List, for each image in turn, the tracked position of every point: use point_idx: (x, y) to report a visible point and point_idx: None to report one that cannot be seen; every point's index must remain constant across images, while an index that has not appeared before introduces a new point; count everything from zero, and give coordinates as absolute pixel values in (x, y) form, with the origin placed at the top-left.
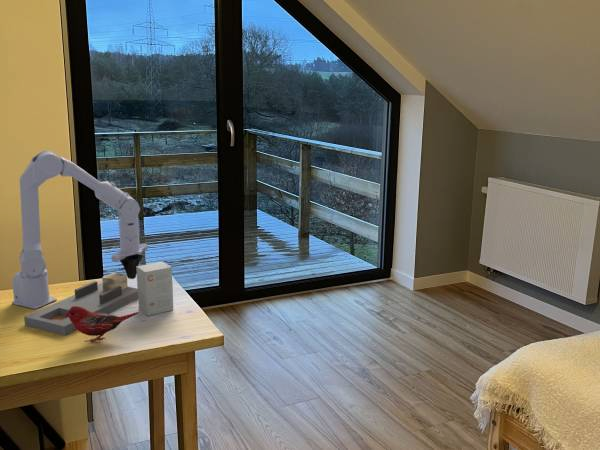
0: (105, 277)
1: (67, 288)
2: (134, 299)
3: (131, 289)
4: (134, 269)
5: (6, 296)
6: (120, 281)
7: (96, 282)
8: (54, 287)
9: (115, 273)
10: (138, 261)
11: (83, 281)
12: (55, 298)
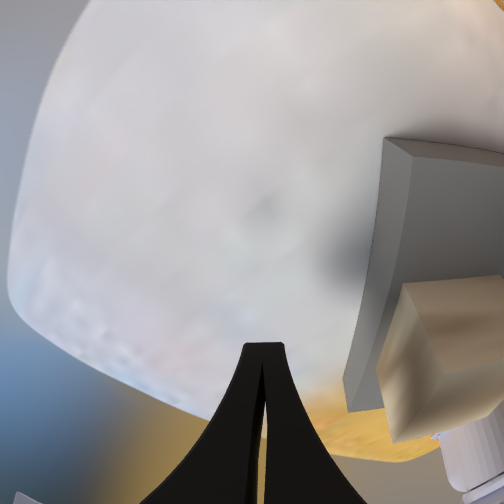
0: (495, 406)
1: (366, 435)
2: (455, 146)
3: (439, 227)
4: (275, 416)
5: (437, 447)
6: (499, 329)
7: None
8: (367, 448)
9: (415, 429)
10: (213, 489)
11: None
12: None
